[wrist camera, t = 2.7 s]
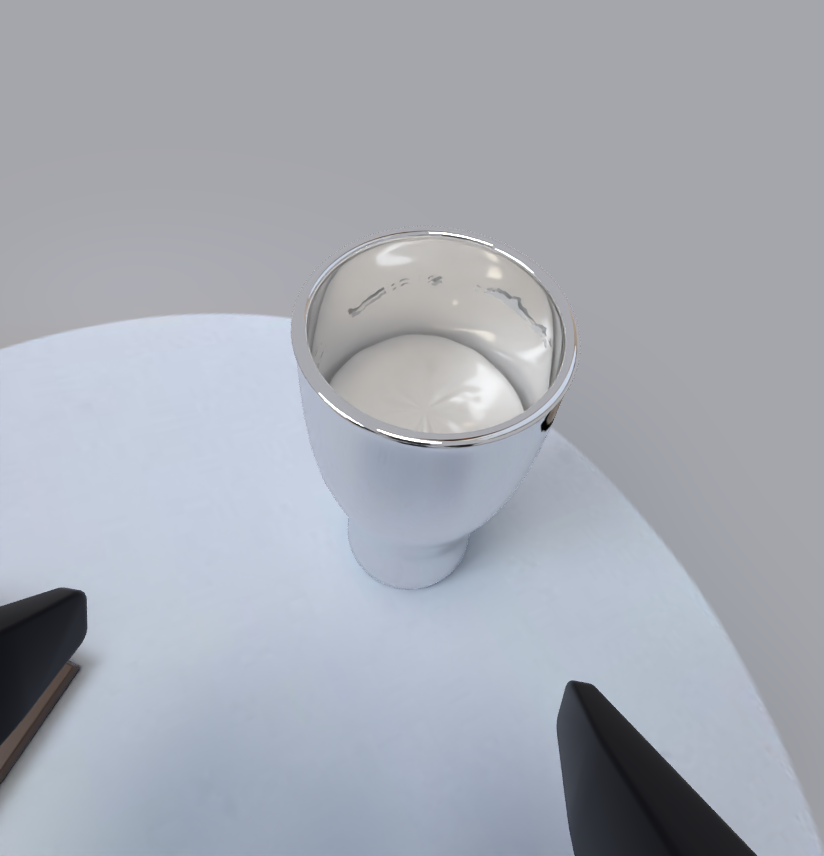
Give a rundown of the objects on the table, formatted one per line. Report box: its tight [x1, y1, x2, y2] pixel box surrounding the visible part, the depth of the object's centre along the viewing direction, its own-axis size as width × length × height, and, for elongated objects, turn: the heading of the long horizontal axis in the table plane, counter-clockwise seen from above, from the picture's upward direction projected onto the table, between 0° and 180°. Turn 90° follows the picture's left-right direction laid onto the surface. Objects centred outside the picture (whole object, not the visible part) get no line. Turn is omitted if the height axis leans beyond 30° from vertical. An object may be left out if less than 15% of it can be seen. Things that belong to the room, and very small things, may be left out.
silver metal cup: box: [291, 226, 580, 589], centre depth 17 cm, size 7×7×15 cm
